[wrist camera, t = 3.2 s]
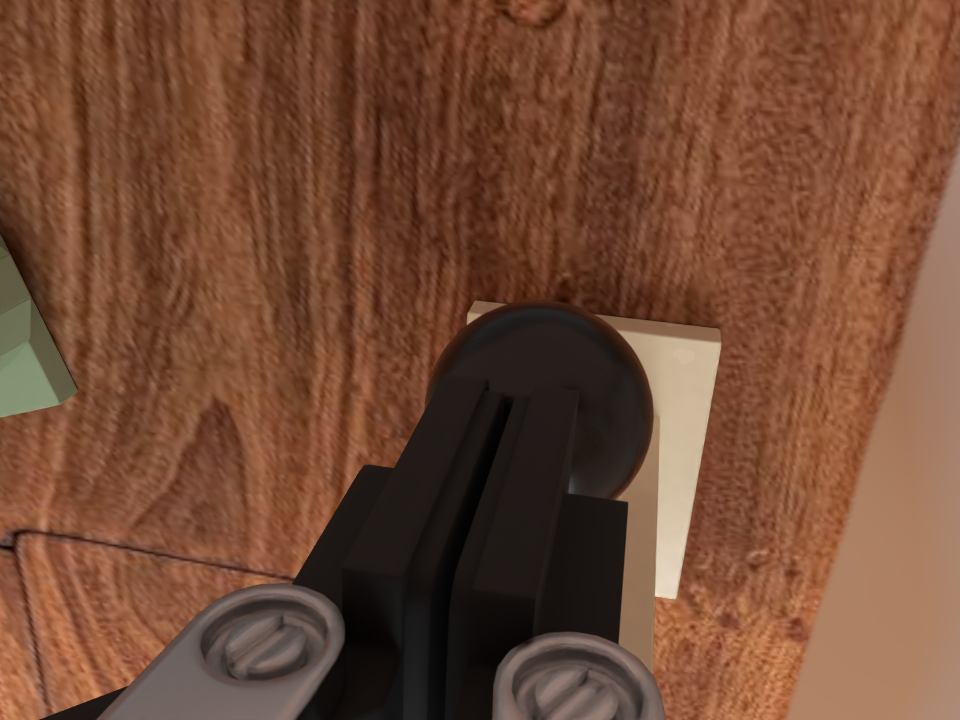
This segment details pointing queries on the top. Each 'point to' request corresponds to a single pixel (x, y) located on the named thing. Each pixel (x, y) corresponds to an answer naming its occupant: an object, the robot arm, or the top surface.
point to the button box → (26, 349)
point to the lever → (564, 382)
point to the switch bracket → (660, 464)
